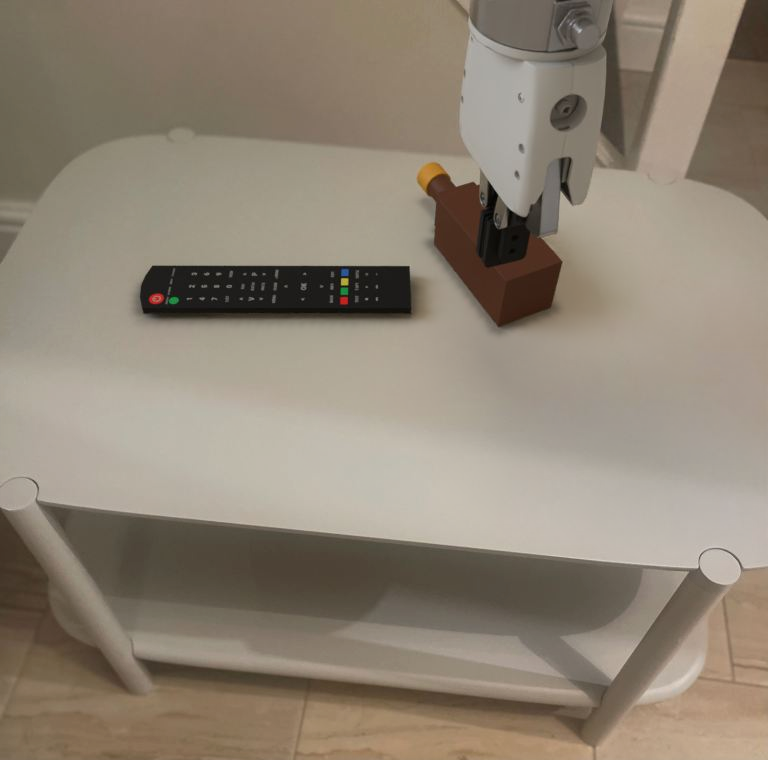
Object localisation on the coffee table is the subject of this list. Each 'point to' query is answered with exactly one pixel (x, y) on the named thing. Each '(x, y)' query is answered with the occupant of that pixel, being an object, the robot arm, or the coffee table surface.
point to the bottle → (458, 245)
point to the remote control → (277, 289)
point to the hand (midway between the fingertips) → (500, 256)
